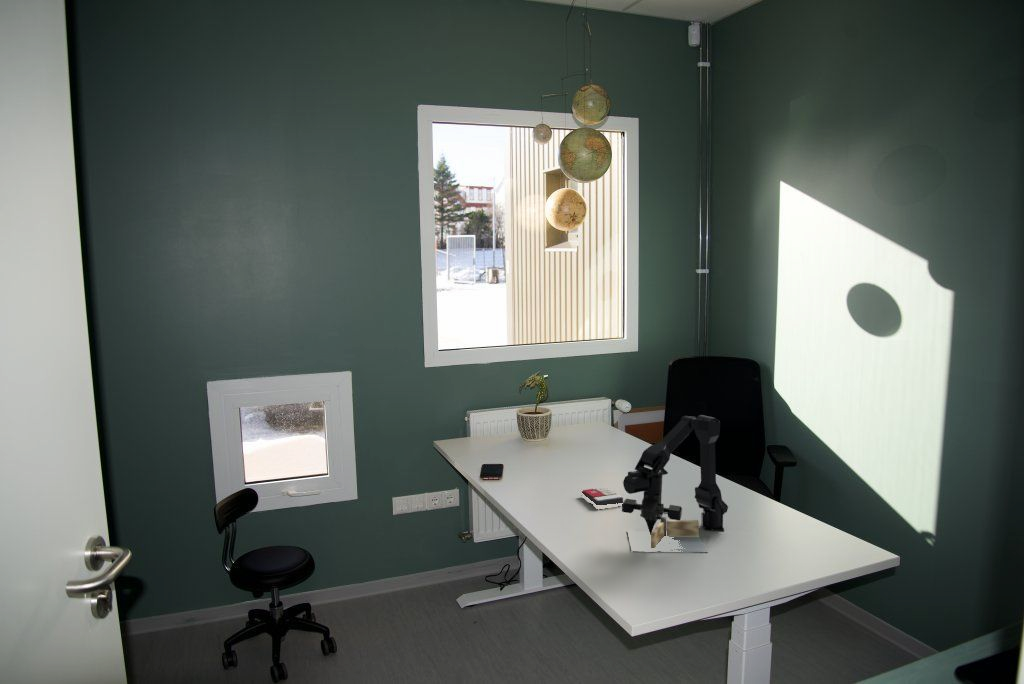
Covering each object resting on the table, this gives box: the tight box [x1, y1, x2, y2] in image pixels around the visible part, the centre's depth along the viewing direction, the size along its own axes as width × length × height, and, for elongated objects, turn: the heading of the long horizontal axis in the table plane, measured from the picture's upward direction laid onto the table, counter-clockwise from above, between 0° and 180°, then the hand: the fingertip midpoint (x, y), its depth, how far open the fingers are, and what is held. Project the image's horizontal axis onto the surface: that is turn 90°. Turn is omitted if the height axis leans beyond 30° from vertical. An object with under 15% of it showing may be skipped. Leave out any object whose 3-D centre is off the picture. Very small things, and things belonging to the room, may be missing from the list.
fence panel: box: [650, 521, 664, 548], centre depth 219 cm, size 11×1×5 cm, turn 151°
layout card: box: [669, 534, 708, 554], centre depth 221 cm, size 24×17×1 cm
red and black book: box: [581, 486, 624, 505], centre depth 259 cm, size 11×4×15 cm
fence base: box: [660, 516, 700, 536], centre depth 224 cm, size 12×2×6 cm, turn 85°
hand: (650, 534), depth 218 cm, fingers closed
